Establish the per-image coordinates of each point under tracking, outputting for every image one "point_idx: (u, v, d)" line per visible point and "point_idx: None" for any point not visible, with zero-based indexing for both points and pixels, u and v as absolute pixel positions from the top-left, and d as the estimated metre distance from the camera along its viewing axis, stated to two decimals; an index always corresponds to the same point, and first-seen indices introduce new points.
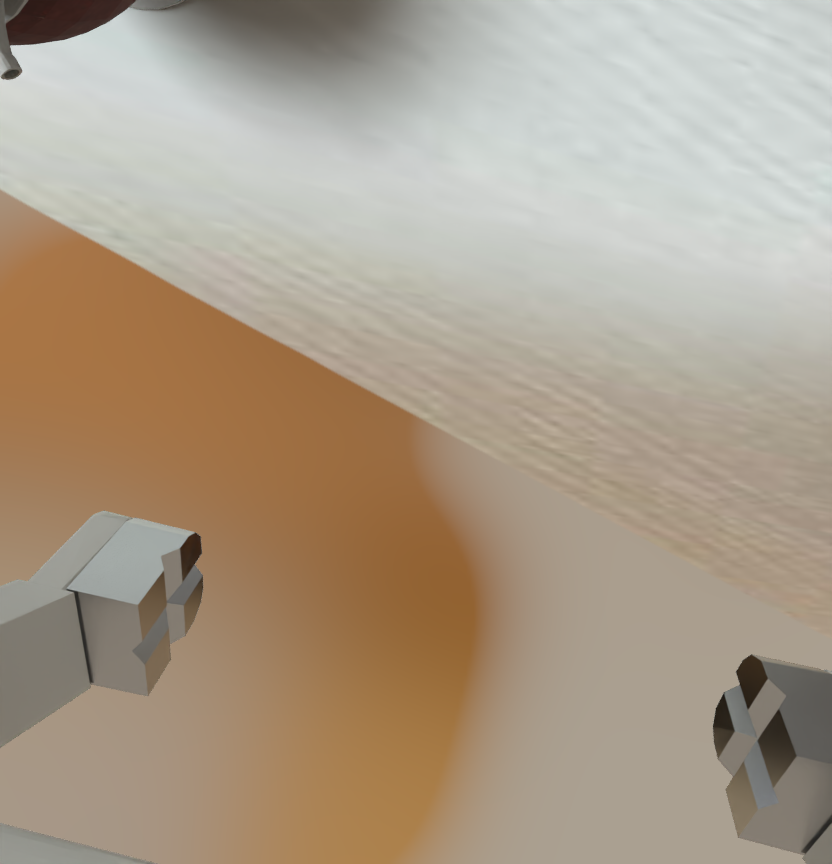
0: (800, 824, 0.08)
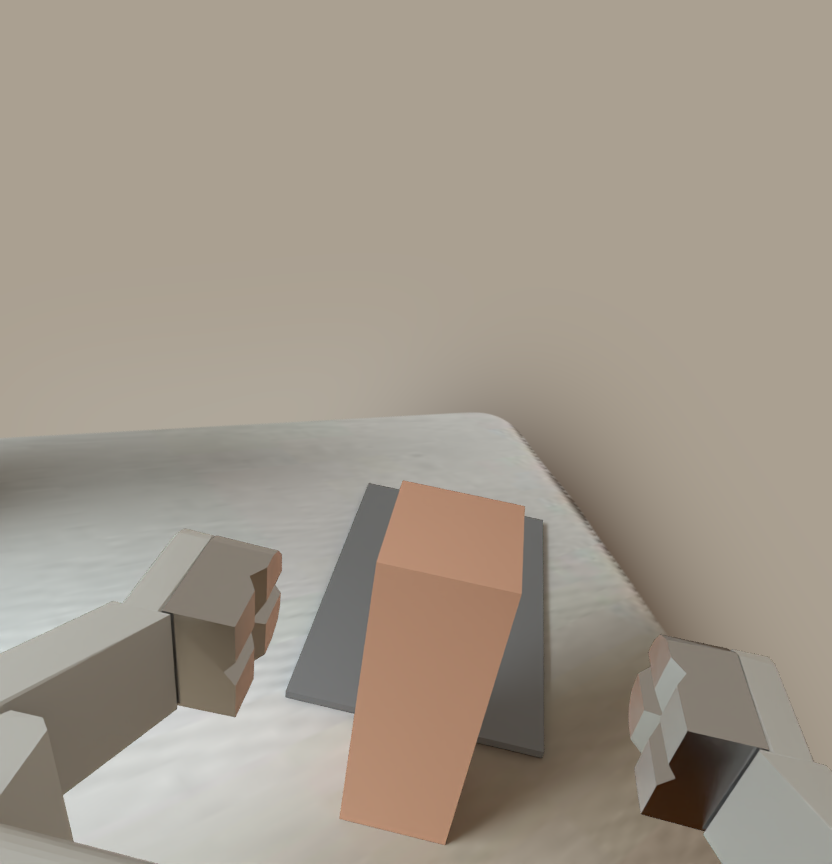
0: (698, 800, 0.08)
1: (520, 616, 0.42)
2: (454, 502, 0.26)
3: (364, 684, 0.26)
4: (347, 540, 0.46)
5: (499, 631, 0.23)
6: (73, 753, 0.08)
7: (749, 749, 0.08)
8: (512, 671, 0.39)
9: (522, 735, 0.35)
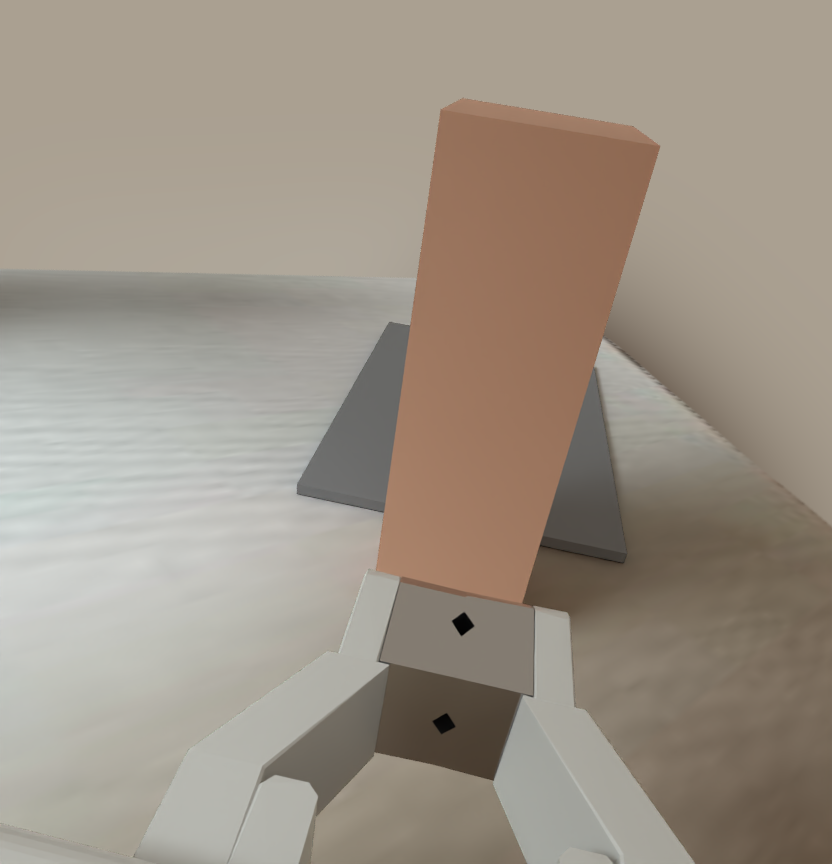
0: (481, 749, 0.08)
1: (578, 435, 0.35)
2: (537, 112, 0.19)
3: (413, 360, 0.18)
4: (367, 364, 0.39)
5: (618, 229, 0.16)
6: None
7: (515, 695, 0.08)
8: (576, 480, 0.31)
9: (597, 537, 0.28)
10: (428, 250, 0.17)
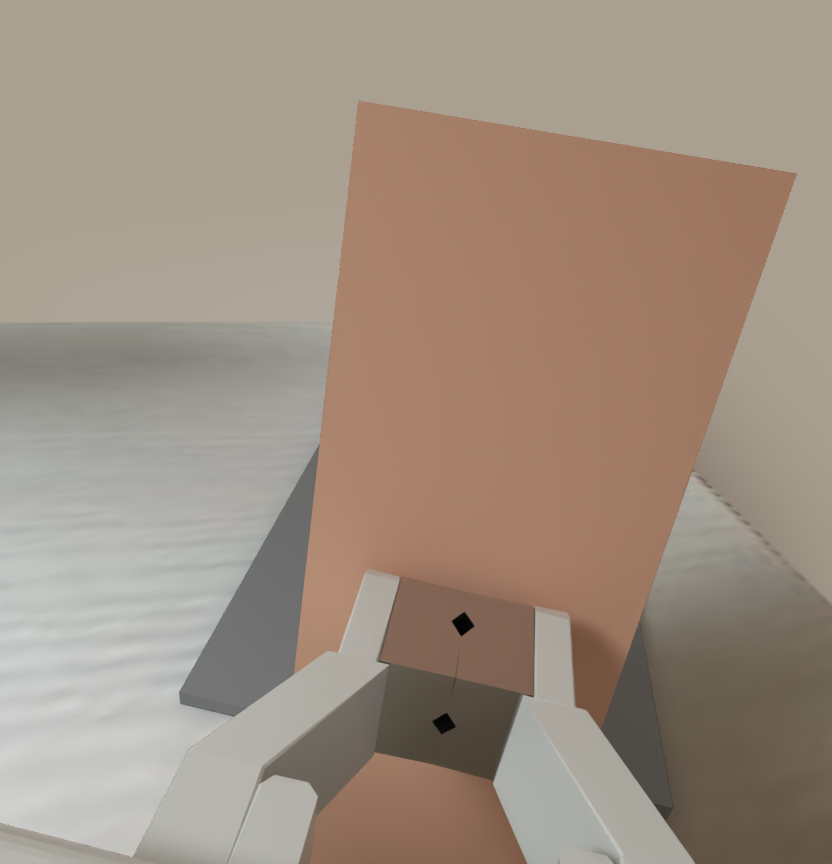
0: (482, 749, 0.08)
1: None
2: None
3: (321, 559, 0.10)
4: (314, 458, 0.30)
5: (707, 335, 0.08)
6: None
7: (515, 695, 0.08)
8: None
9: None
10: (342, 367, 0.09)
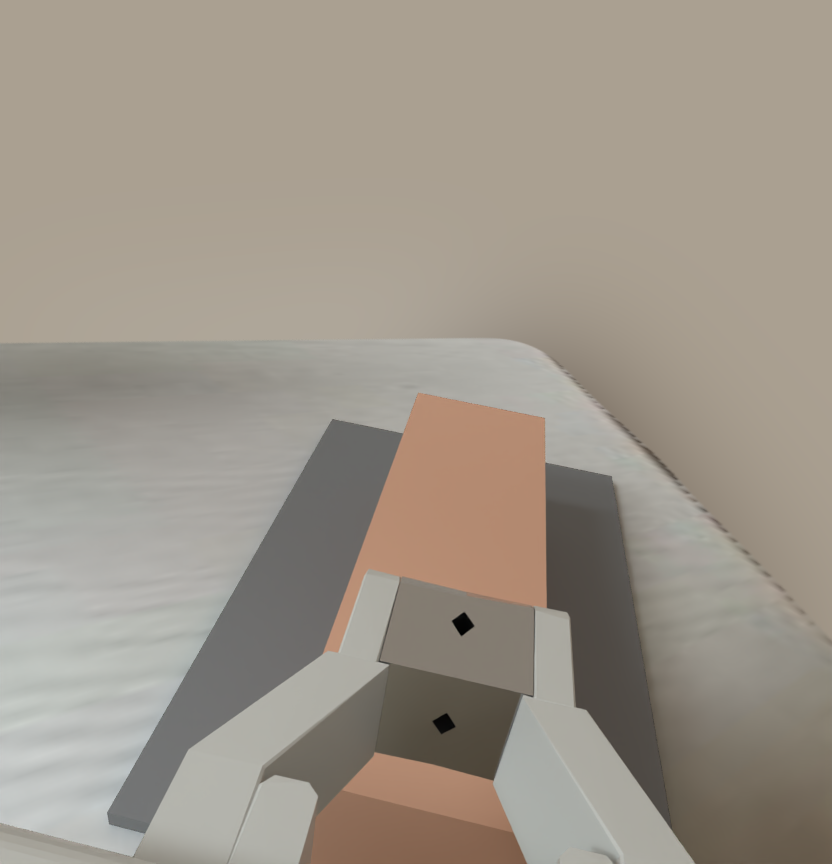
0: (481, 749, 0.08)
1: (596, 636, 0.23)
2: None
3: (392, 483, 0.20)
4: (287, 503, 0.27)
5: (534, 441, 0.24)
6: None
7: (515, 695, 0.08)
8: None
9: None
10: (408, 434, 0.23)
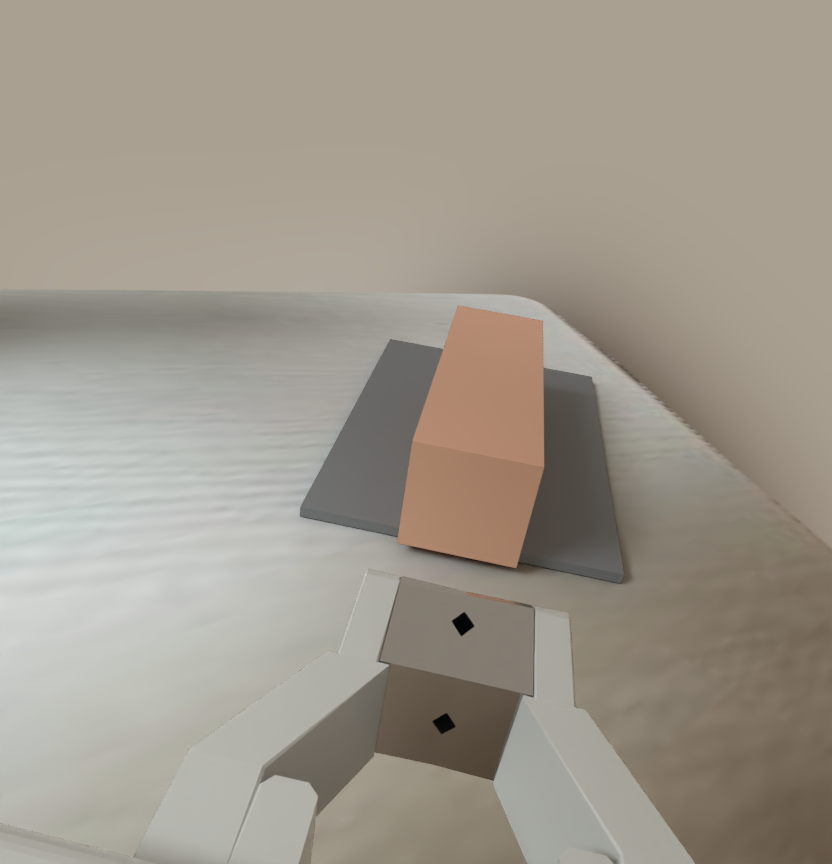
0: (482, 749, 0.08)
1: (577, 453, 0.36)
2: None
3: (448, 346, 0.33)
4: (368, 383, 0.40)
5: (536, 331, 0.37)
6: None
7: (515, 695, 0.08)
8: (575, 500, 0.32)
9: (595, 558, 0.28)
10: (455, 325, 0.36)
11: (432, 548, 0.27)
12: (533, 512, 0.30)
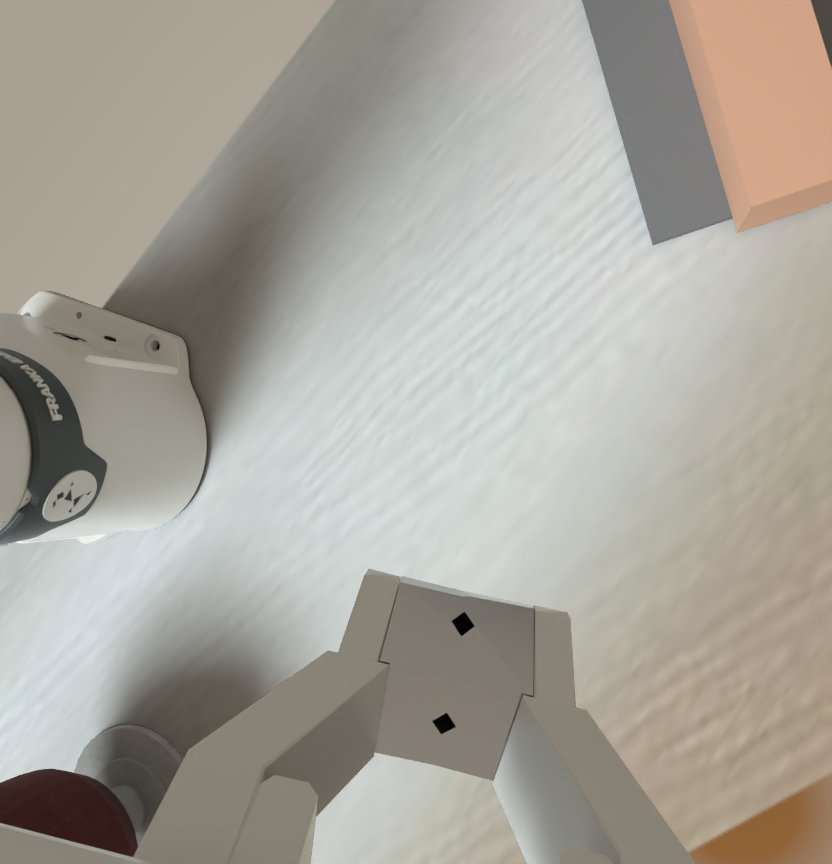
0: (481, 749, 0.08)
1: None
2: None
3: (702, 26, 0.34)
4: (597, 43, 0.40)
5: None
6: None
7: (515, 696, 0.08)
8: None
9: None
10: None
11: (764, 221, 0.38)
12: None
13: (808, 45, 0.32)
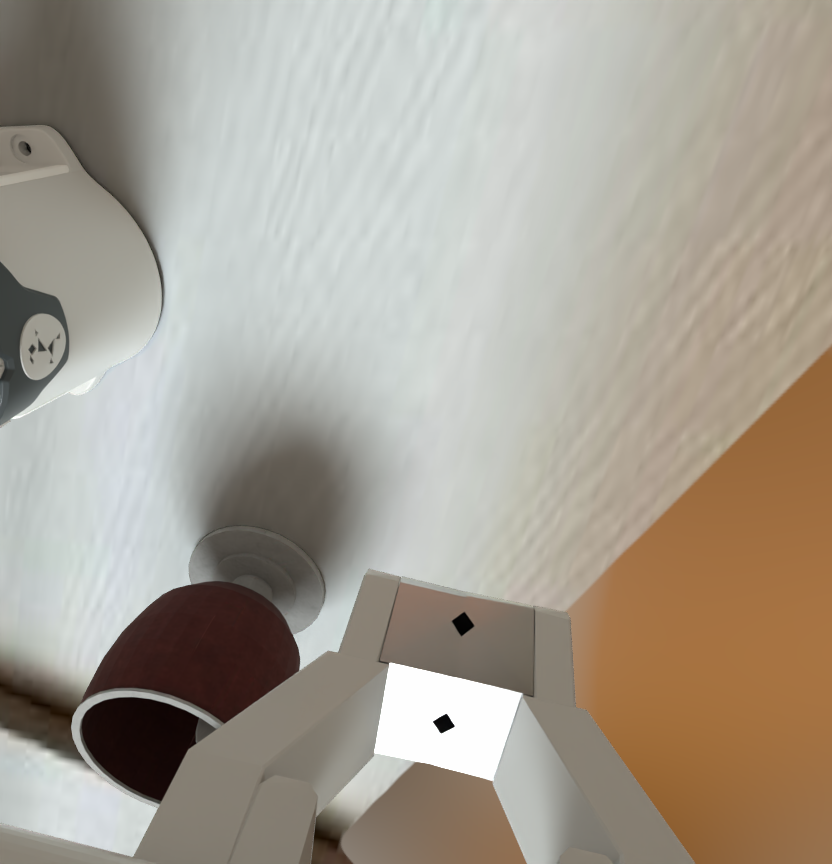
0: (482, 749, 0.08)
1: None
2: None
3: None
4: None
5: None
6: None
7: (515, 696, 0.08)
8: None
9: None
10: None
11: None
12: None
13: None
